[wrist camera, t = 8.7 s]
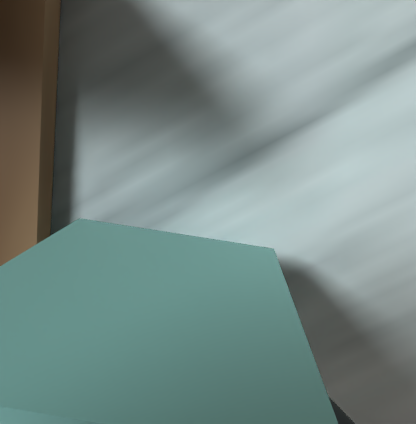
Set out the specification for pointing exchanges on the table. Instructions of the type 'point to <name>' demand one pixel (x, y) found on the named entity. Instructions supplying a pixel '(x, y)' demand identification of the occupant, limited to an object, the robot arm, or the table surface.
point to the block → (152, 333)
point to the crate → (27, 121)
